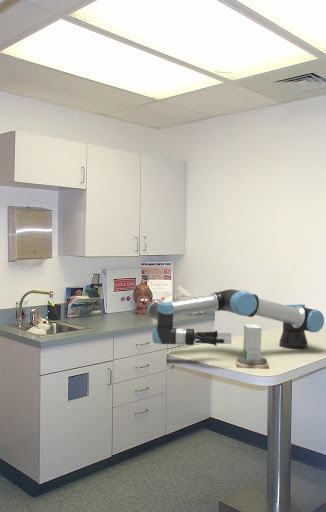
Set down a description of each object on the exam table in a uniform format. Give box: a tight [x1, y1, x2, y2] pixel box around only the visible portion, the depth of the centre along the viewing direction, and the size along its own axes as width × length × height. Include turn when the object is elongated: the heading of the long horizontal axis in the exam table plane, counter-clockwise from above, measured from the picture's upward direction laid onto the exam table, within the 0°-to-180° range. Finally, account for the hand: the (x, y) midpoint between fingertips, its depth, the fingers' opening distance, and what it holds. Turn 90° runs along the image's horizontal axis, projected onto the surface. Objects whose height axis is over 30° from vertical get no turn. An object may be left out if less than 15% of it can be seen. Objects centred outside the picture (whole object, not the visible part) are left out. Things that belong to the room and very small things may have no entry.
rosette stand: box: [235, 356, 270, 370], centre depth 223 cm, size 14×14×2 cm
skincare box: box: [242, 323, 262, 361], centre depth 223 cm, size 8×7×16 cm
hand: (231, 338), depth 224 cm, fingers open, 13 cm apart
